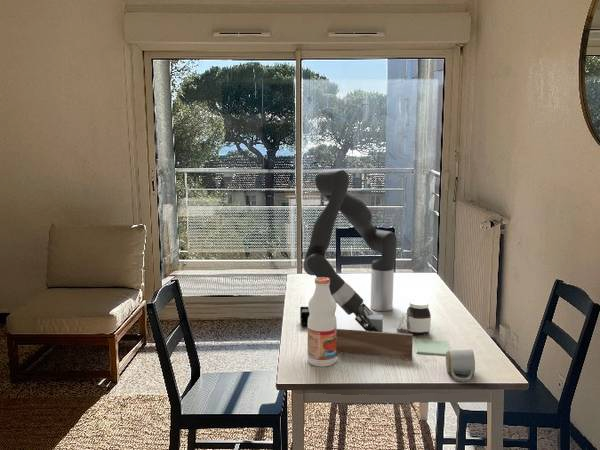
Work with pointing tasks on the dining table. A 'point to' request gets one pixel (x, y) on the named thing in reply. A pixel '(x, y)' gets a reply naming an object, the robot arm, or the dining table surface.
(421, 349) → the sage mat
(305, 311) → the end cap
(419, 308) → the spread jar
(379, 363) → the dining table surface
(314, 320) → the fruit juice
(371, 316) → the slate block
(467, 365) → the ceramic mug
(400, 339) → the walnut screen
